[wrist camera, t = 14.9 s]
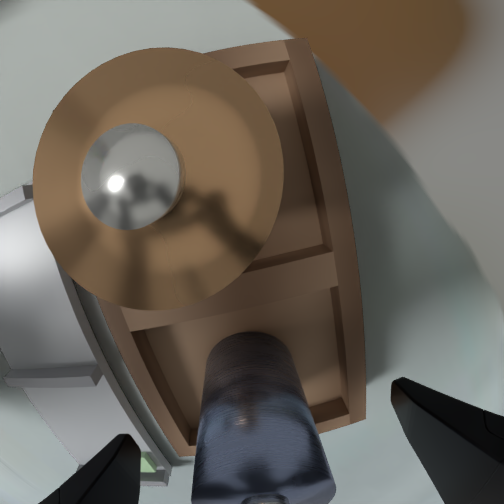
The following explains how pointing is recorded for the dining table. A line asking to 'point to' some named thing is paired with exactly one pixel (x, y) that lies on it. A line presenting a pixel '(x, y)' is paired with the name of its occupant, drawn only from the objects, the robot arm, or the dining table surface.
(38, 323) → the cradle
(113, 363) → the dining table surface
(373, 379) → the dining table surface
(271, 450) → the cylinder
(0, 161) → the dining table surface
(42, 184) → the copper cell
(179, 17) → the dining table surface
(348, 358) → the tray
